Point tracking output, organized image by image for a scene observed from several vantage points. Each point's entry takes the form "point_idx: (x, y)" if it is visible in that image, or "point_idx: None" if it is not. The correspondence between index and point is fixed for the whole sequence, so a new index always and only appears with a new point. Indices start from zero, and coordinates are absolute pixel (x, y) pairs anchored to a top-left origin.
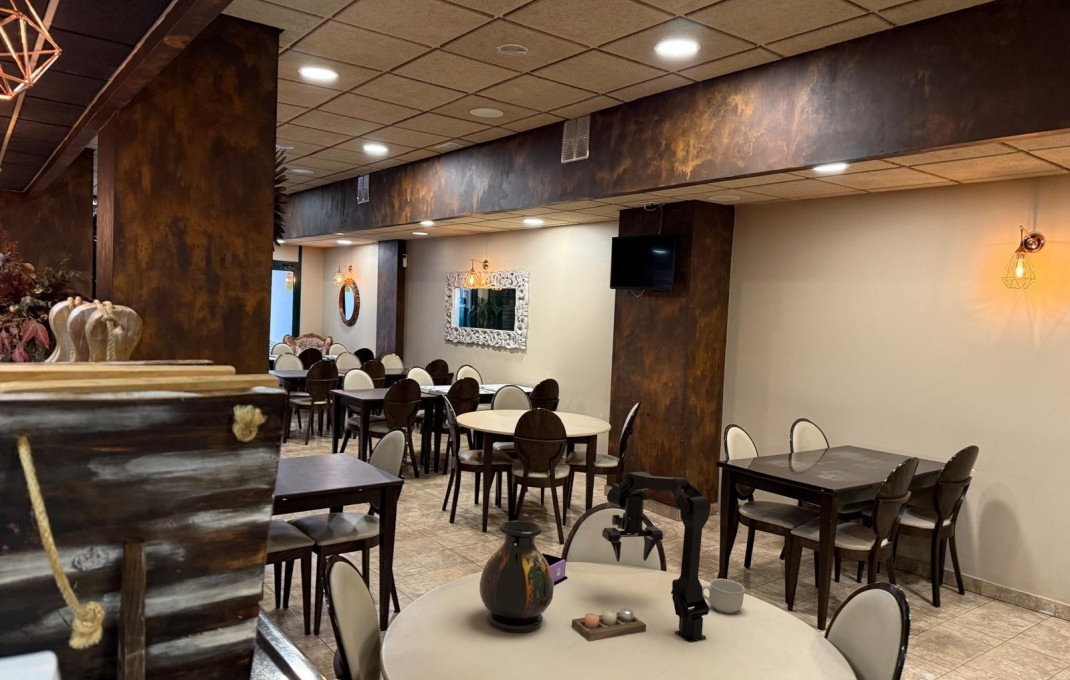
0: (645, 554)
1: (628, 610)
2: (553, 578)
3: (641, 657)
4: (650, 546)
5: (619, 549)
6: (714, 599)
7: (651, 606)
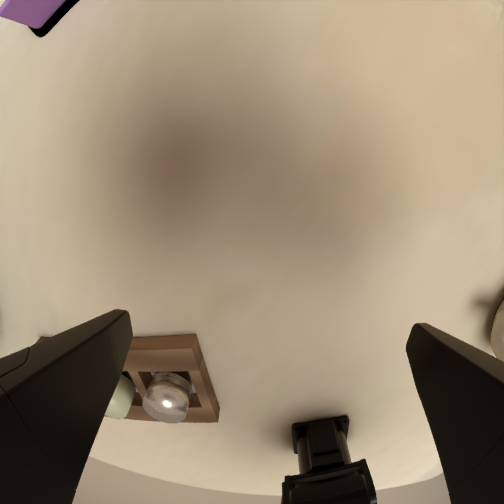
0: (429, 390)
1: (169, 410)
2: (45, 7)
3: (165, 461)
4: (455, 493)
5: (71, 466)
6: (500, 344)
7: (347, 262)
